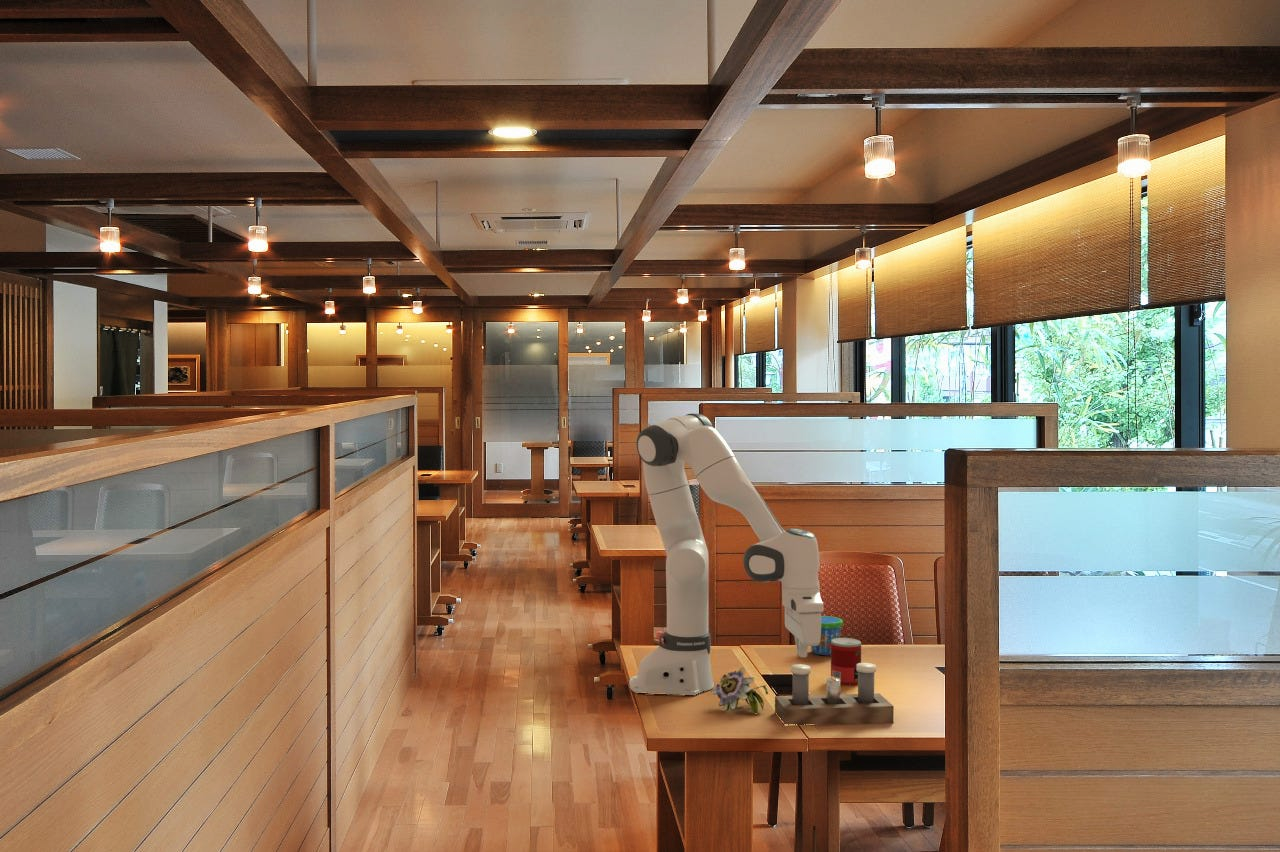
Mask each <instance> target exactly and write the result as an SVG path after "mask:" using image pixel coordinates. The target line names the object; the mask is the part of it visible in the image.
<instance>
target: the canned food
mask: <svg viewBox="0 0 1280 852" xmlns="http://www.w3.org/2000/svg"><path fill="white" fill-rule="evenodd" d="M858 663H862V641H860V640H859V639H856V638H851V637H850V638H849V637H840V638H835V639H832V640H831V655H830V677H831V676H833V677H834V678H839V679H840V686H856V685H857V686H858V671H857V670H856V665H857V664H858Z"/></svg>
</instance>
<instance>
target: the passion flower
mask: <svg viewBox="0 0 1280 852" xmlns="http://www.w3.org/2000/svg"><path fill="white" fill-rule="evenodd" d="M745 671H746V668H744V666H743V667H740V669H739V670H738V671H737V670H734V671H731V672H727V674H723V675H722V676H721V678H719V679H720V681H719V683H717V685H716V686H715V689H714V688H713V689H711V691H710V692H711V694H712V695H714V696H715V695H717V698H718V699H719V704H718V706H719V707H722V706H723V708H722V712H724V711H726V712H728V711H729V710H730V708H731V710H733V711H734V710H737V707H739V706H738V705H739V701H740V700H743V701H745V702H746V704H749V706H750V709H751V711H752V714H754V713H757V714H759V713H758V711H759V705H760V707H761V711H763V710H764V705H765V703H764V699H763V697H762V696H761V695H760V694H759V693H758V692H757V691H756V690H755V689H759V688H763V689H764V690H765V695H768V694H769V691H768V689H767V686H766V684H765V685H761V686H757V687H755V688H752V686H750V684H751V683H753V682H754V681H755V677H754V676H751V677H745V676H744V675H745Z"/></svg>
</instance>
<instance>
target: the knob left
mask: <svg viewBox="0 0 1280 852" xmlns="http://www.w3.org/2000/svg"><path fill="white" fill-rule="evenodd" d="M790 672H791V673H792V691H791V692H792V695H791V696H792V705H793V706H795V705H809V695H810V693H809V692H810V691H809V687H810V685H809V684H810V681H809V680H810V674H811V666H810V665H807V664H801V663H799V664H792V665H791V666H790Z"/></svg>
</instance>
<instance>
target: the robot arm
mask: <svg viewBox="0 0 1280 852" xmlns="http://www.w3.org/2000/svg"><path fill="white" fill-rule="evenodd" d="M636 451H637V453H638V456H639V457H640V459H641V460H642V465H643V466H642V467H643V478H644V482H645V489H646V491H647V495H648V499H649V502H650V507H651V511H652V514H653V517H654V521H655V524H656V526H657V527H656V528H657V529H658V532H659V535H660V538H661V541H662V544H663V548H664V551H665V554H666V558H665V582H666V585H665V586H666V587H665V588H666V589H665V590H666V631H665V632H663V631H661V630H657V631H656V633H655V637H656V639H657V640H658V646H657V648H655V649H654V650H653V651H651V652H650V653H648V654H647V655H645V656H644V657H643V658H642V659H641V661H640V663H639V666H638V669H637V675H634V676H632V677H631V678H630V679H629V683H628V684H629V685H628V686H629V688H630V690H631V691H632V692H633V693H635V694H638V693H641V692H646V693H649V692H650V693H665V694H685V695H694V696H697V695H699V694H700V692H701V693H703V691H704V692H707V691H710V690H713V689H714V688H715V682H714V679H713V674H712V669H711V662H710V654H711V633H710V631H709V587H710V586H709V579H710V578H709V576H710V575H709V573H710V572H709V571H710V570H709V569H710V568H709V567H710V566H709V565H710V564H709V562H710V560H709V555H710V554H709V550H708V547H707V543H706V540H705V537H704V534H703V529H702V526H701V522H700V519H699V516H698V513H697V510H696V507H695V503H694V500H693V495H692V492H691V488H690V485H689V481H688V478H687V474H686V471H685V463H687V464H688V465H689V466H690V468H691V471H692V473H693V474H694V477H695V478H696V480H697V482H698V484H699V486H700V488H701V489H702V491H703V492H704V493H705V495H706V496H707V497H708V498H709V499H710V500H711V501H713V502H716V503H718V504H721V505H724V506H728V507H730V508H732V509H734V510H736V511H738V513H739V512H740V513H741V514H742V515H743V517H744V518H745V519H746V521H747V522H748V524H749V525H750V527H751V528H752V530H753V532H754V534H755V536H757V538H758V539H759V542H757V543H754V544H753V545H751V546H749V547H748V548H747V549H746V550H745V552H744V554H743V559H742V560H743V561H742V562H743V564H742V565H743V568H744V570H745V573H746V574H747V576H748V577H749V578H750V579H752V580H753V581H755V582H758V583H769V582H773V581H779V582H781V593H782V594H781V597H782V598H781V599H782V600H781V601H782V602H781V603H782V606H783V607H784V626H785V628H786V629H787V630H788V631H789V632H790V633H791V634H792V635H793V636H794V643H795V647H796V654H797V655H798V656H799V657H800V658H807V657H808V648H809V647H811V646H818V645H819V643H820V639H821V616H822V614H821V613H823V612H824V608H825V607H824V602H823V601H822V598H821V591H820V588H821V587H820V586H821V585H820V580H819V570H820V552H819V544H818V540H817V537H816V535H815V534H814V533H812V532H811V531H809V530H807V529H802V528H794V527H793V528H787V529H785V530H784V528H783V527H782V526H781V524H780V523H779V521H778V520H777V518H776V517H775V515H774V513H773V512H772V511H771V509H770V507H769V506H768V504H767V503H766V501H765V500H764V498H763V497H762V496H761V494H760V493H759V491H758V490H757V489H756V488H755V486H754V485H753V483H752V482H751V480H749V478H748V476H747V475H746V472H745V471H744V470H743V468H742V467H741V465H740V463H739V461H738V459H737V458H736V456H735V454H734V452H733V450H732V449H731V446H729V444H728V443H727V441H726V440H725V439H724V438H723V436H722V435H721V434H720V432H719V431H718V430H717V429H716V428H715V427H714V426H713V424H712V422H711V421H710V419H709V418H708V417H707V416H705V415H704V414H700V413H687V414H685V415H681V416H678V415H677V416H674V417H671V418H668V419H666V420H664V421H661V422H659V423H656V424H650V426H647V427H645V428H644V429H642V430H641V431H640V432H639V433H638V435H637V438H636ZM698 693H699V694H698ZM696 694H697V695H696ZM685 695H684V696H685Z"/></svg>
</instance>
